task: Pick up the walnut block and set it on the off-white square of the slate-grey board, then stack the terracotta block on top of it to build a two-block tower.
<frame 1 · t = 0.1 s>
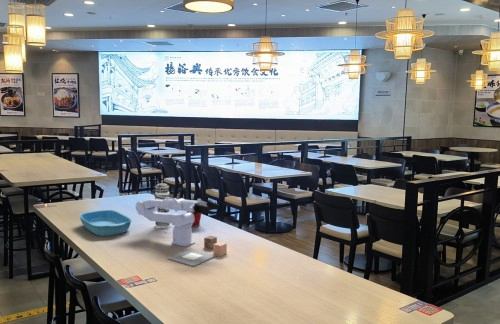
hand: (213, 208, 205), 22 cm above the table, tool horizontal, fingers open, 7 cm apart
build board: (192, 257, 198), on the table
walnut block: (210, 247, 214), on the table
terracotta block: (220, 253, 204), on the table
casserole dish: (105, 229, 243), on the table
white striped cylinder: (162, 226, 249), on the table
plastic cup: (194, 225, 252), on the table
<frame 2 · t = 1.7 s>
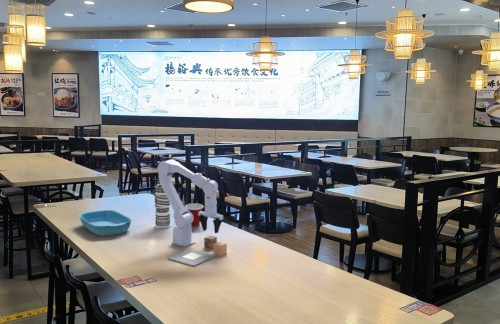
hand: (210, 231, 213), 8 cm above the table, tool pointing down, fingers open, 7 cm apart
nothing on the table moved.
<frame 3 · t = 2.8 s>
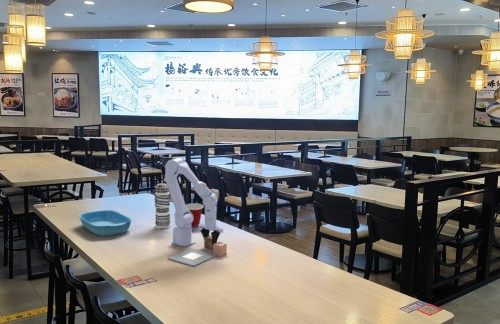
hand: (210, 244, 214), 1 cm above the table, tool pointing down, fingers closed on walnut block, 4 cm apart
walnut block: (210, 246, 214), on the table, touching gripper
everything else where it was.
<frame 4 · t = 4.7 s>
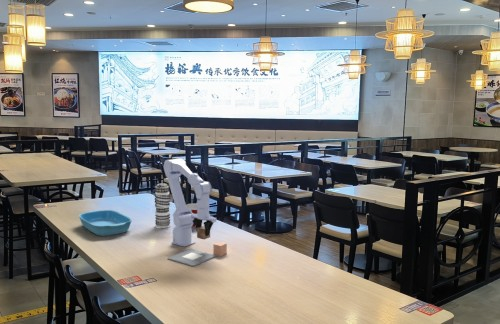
hand: (203, 234, 206), 8 cm above the table, tool pointing down, fingers closed on walnut block, 4 cm apart
walnut block: (203, 237, 207), point 7 cm above the table, touching gripper
everything else where it was.
when the fingers open (3 cm above the table, at t = 6.7 s): walnut block stays where it is, resting on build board.
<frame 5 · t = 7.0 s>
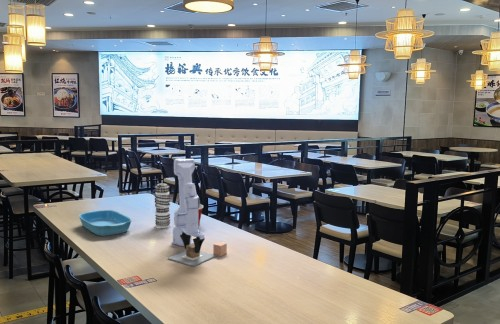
hand: (192, 250, 198), 3 cm above the table, tool pointing down, fingers open, 7 cm apart
walnut block: (193, 255, 199), point 1 cm above the table, touching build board
everything else where it was.
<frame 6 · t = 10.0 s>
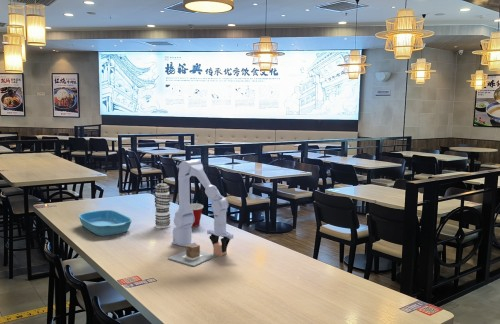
hand: (220, 250, 204), 1 cm above the table, tool pointing down, fingers closed on terracotta block, 4 cm apart
terracotta block: (220, 253, 204), on the table, touching gripper
everything else where it was.
when the fingers open (8 cm above the table, at t = 13.4 s): terracotta block drops 1 cm, resting on walnut block.
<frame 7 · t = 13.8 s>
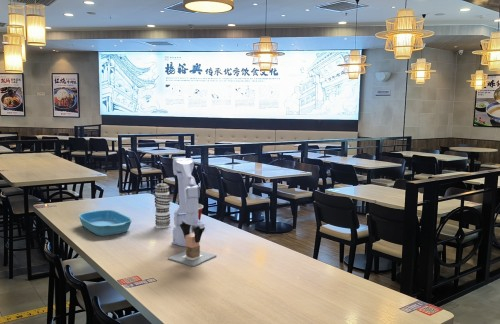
hand: (192, 240, 197), 8 cm above the table, tool pointing down, fingers open, 7 cm apart
walnut block: (193, 255, 199), point 1 cm above the table, touching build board, terracotta block
terracotta block: (192, 245, 198), point 6 cm above the table, touching walnut block
everything else where it was.
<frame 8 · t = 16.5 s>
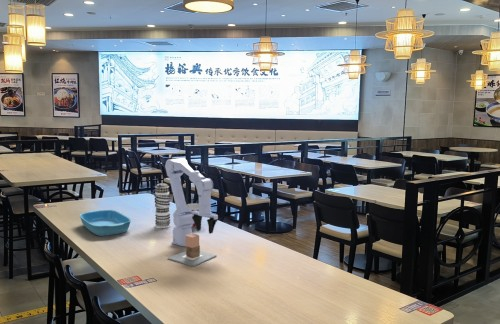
hand: (204, 231, 204), 10 cm above the table, tool pointing down, fingers open, 7 cm apart
at the end: walnut block 0.4 cm off-centre on the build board, point 0.8 cm above the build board's base; terracotta block 0.3 cm off-centre on the walnut block, point 5.0 cm above the walnut block's base; terracotta block tilted 0° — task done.
